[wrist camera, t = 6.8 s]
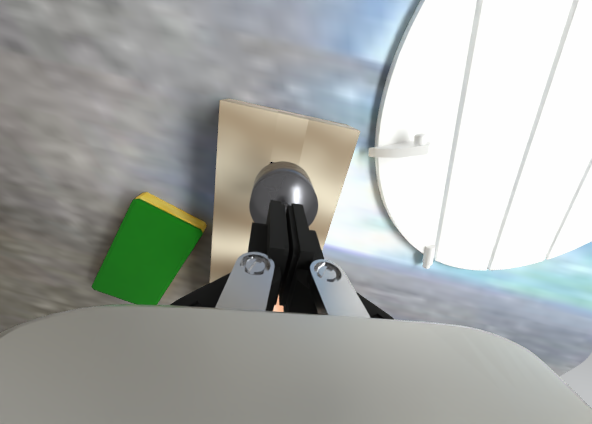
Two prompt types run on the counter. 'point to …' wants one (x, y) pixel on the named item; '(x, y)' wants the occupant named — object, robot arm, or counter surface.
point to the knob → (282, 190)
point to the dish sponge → (148, 250)
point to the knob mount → (259, 153)
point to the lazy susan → (489, 132)
